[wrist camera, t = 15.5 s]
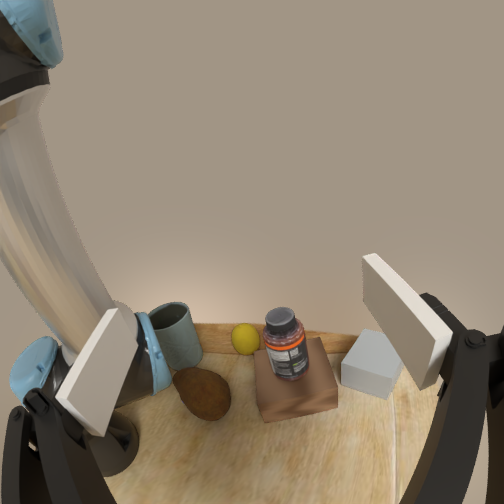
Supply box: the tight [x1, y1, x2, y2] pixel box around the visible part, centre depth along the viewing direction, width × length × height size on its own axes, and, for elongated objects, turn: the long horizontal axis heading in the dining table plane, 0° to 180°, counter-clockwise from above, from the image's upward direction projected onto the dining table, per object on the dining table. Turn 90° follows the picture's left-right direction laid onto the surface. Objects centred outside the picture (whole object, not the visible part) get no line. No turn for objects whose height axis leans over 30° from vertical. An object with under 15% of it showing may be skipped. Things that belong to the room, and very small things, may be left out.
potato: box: [173, 367, 231, 421], centre depth 42 cm, size 8×12×9 cm
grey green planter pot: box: [148, 302, 203, 370], centre depth 55 cm, size 10×10×12 cm
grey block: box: [341, 329, 404, 400], centre depth 40 cm, size 9×9×6 cm
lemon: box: [232, 323, 260, 355], centre depth 53 cm, size 6×6×8 cm
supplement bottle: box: [263, 307, 309, 381], centre depth 38 cm, size 6×6×11 cm
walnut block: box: [254, 337, 338, 423], centre depth 42 cm, size 12×12×6 cm
